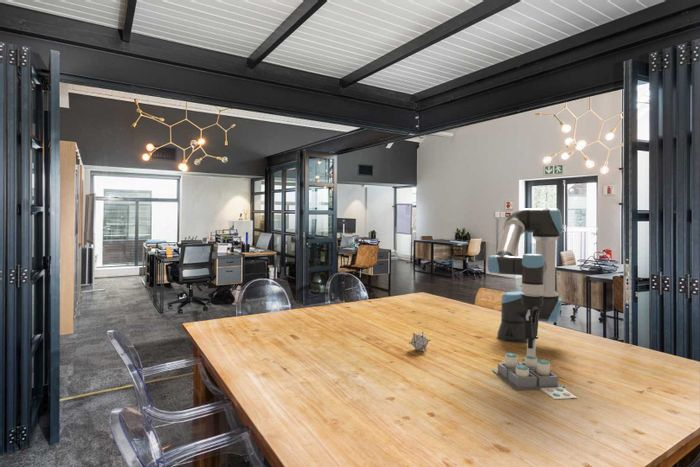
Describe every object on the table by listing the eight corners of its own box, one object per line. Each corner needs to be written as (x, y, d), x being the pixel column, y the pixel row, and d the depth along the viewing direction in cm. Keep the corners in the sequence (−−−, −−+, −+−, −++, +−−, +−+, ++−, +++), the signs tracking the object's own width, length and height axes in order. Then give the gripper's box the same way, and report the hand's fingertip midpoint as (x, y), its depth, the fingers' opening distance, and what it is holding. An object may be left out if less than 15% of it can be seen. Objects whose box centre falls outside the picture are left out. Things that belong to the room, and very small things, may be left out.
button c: (545, 371, 148) (545, 358, 148) (552, 376, 144) (552, 363, 143) (533, 372, 147) (534, 359, 147) (540, 376, 143) (541, 363, 143)
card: (561, 388, 141) (561, 386, 141) (577, 398, 133) (577, 396, 133) (540, 389, 140) (540, 387, 140) (554, 399, 132) (554, 397, 132)
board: (535, 369, 159) (535, 360, 159) (564, 388, 141) (564, 378, 141) (492, 370, 157) (492, 361, 157) (515, 390, 139) (516, 380, 139)
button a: (524, 377, 147) (524, 364, 147) (531, 382, 143) (531, 368, 143) (513, 377, 147) (513, 364, 147) (519, 382, 142) (519, 369, 142)
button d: (533, 366, 156) (533, 354, 156) (539, 370, 152) (539, 358, 151) (522, 367, 155) (522, 354, 155) (528, 371, 151) (528, 358, 151)
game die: (423, 359, 180) (430, 346, 174) (405, 351, 182) (411, 338, 176) (427, 345, 187) (433, 331, 181) (409, 337, 189) (416, 324, 183)
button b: (513, 364, 155) (513, 352, 155) (519, 368, 151) (519, 356, 150) (502, 365, 155) (502, 352, 154) (508, 369, 150) (508, 356, 150)
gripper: (526, 291, 160) (525, 349, 161) (516, 295, 150) (515, 358, 150) (547, 293, 155) (546, 353, 156) (538, 298, 145) (537, 362, 146)
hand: (531, 355), depth 153 cm, fingers closed
